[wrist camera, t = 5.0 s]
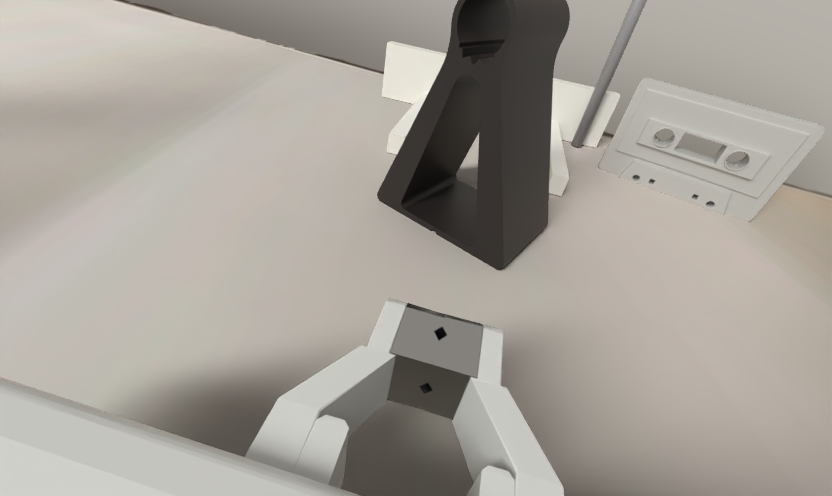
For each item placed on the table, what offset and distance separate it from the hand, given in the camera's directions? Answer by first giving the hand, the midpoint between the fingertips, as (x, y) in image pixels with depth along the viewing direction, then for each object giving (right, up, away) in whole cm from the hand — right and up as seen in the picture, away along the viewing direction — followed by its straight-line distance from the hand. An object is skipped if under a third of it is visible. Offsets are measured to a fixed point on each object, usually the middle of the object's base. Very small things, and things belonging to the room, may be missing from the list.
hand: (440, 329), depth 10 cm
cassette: (+21, +7, +23) cm, 31 cm away
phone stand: (+2, +4, +14) cm, 15 cm away
